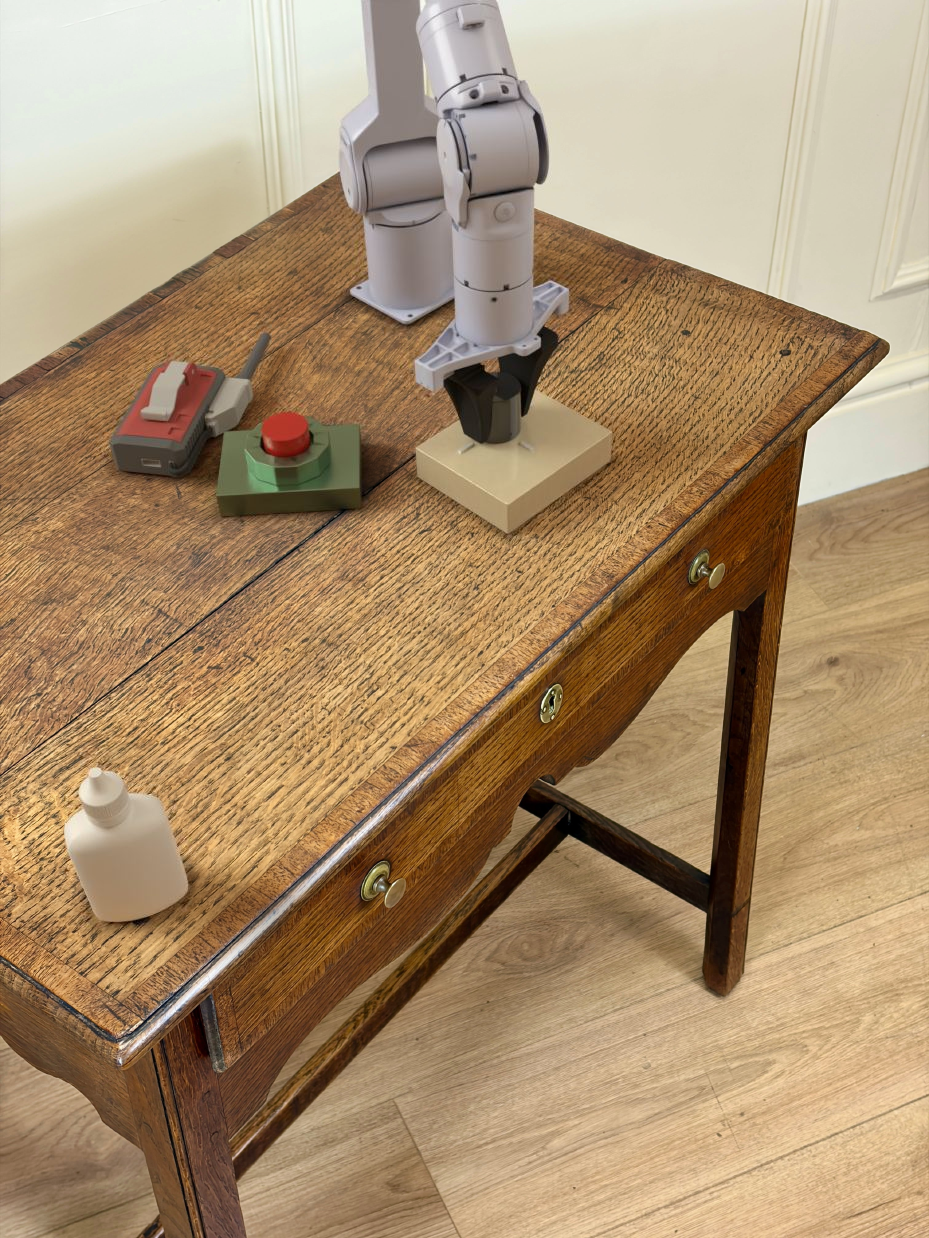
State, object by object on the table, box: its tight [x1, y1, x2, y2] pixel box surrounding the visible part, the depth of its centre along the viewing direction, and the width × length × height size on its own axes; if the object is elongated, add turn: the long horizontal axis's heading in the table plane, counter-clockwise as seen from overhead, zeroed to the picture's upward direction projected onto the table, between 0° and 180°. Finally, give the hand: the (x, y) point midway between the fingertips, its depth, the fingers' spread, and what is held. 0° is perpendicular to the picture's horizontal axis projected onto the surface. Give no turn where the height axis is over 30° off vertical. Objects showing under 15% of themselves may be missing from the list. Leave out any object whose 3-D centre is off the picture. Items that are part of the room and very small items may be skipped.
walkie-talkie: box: [108, 332, 272, 479], centre depth 109 cm, size 9×4×20 cm
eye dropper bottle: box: [63, 766, 189, 923], centre depth 73 cm, size 4×6×12 cm
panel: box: [414, 389, 613, 535], centre depth 103 cm, size 12×11×3 cm
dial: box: [485, 371, 521, 444], centre depth 101 cm, size 4×4×4 cm
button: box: [261, 411, 311, 458], centre depth 101 cm, size 4×4×2 cm
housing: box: [215, 415, 363, 517], centre depth 102 cm, size 11×8×4 cm
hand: (495, 423), depth 103 cm, fingers closed on dial, 4 cm apart
